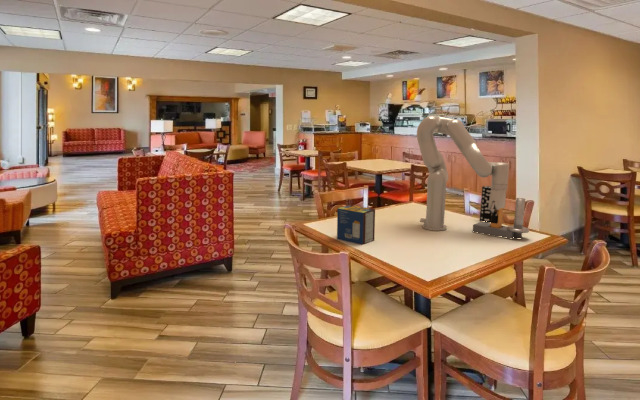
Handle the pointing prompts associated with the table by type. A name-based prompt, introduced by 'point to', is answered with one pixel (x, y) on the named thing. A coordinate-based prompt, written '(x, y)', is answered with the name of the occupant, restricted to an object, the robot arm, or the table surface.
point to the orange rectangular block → (499, 224)
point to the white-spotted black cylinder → (485, 204)
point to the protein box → (355, 224)
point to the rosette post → (518, 219)
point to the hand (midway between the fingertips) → (496, 222)
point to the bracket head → (492, 230)
